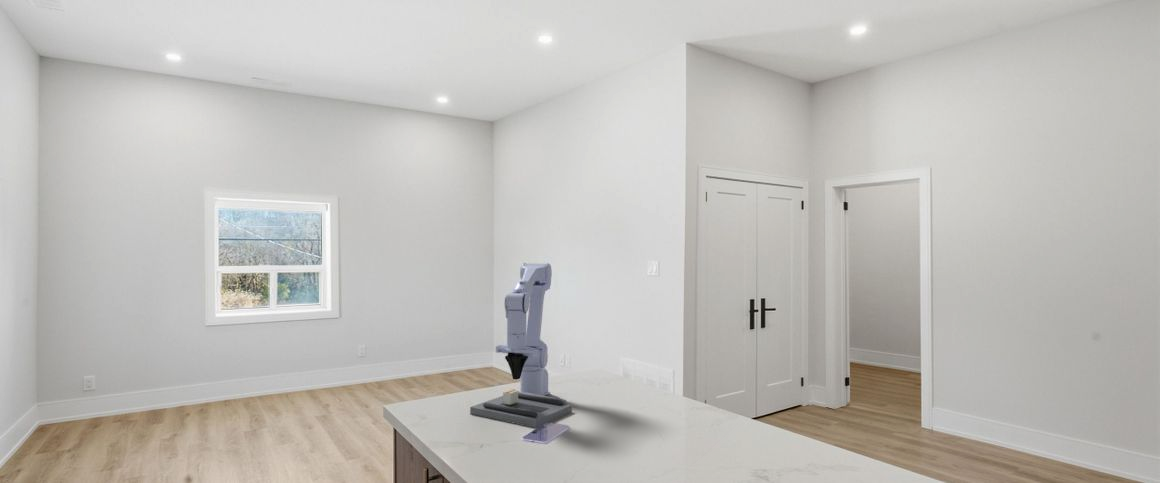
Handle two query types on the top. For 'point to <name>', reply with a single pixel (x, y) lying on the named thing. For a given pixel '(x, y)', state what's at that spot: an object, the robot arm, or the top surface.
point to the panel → (543, 409)
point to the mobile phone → (545, 433)
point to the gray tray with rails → (529, 397)
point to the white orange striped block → (510, 397)
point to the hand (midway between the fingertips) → (516, 378)
